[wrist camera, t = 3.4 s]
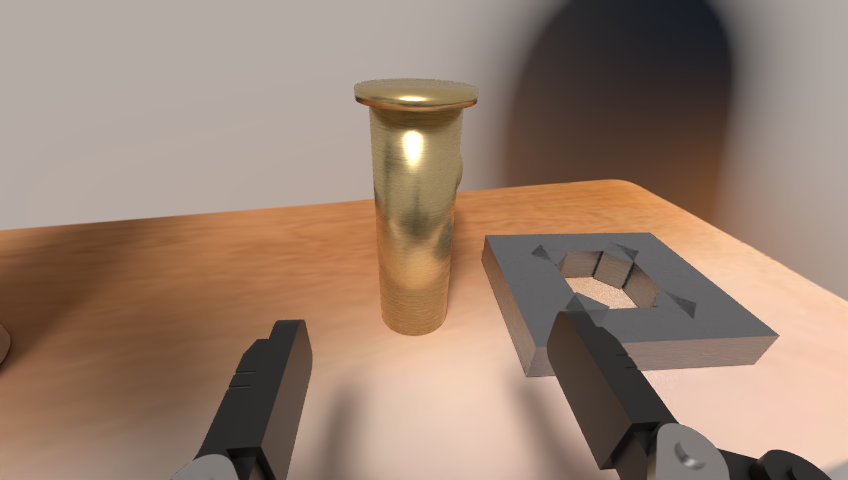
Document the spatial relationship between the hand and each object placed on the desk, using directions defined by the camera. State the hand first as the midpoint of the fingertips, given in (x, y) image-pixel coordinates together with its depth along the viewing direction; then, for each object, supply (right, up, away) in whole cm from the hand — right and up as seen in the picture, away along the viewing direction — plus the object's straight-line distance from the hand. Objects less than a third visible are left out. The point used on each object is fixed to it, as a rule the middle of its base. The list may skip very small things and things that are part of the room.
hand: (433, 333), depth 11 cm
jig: (+12, -2, +13) cm, 18 cm away
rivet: (-1, -2, +12) cm, 12 cm away
